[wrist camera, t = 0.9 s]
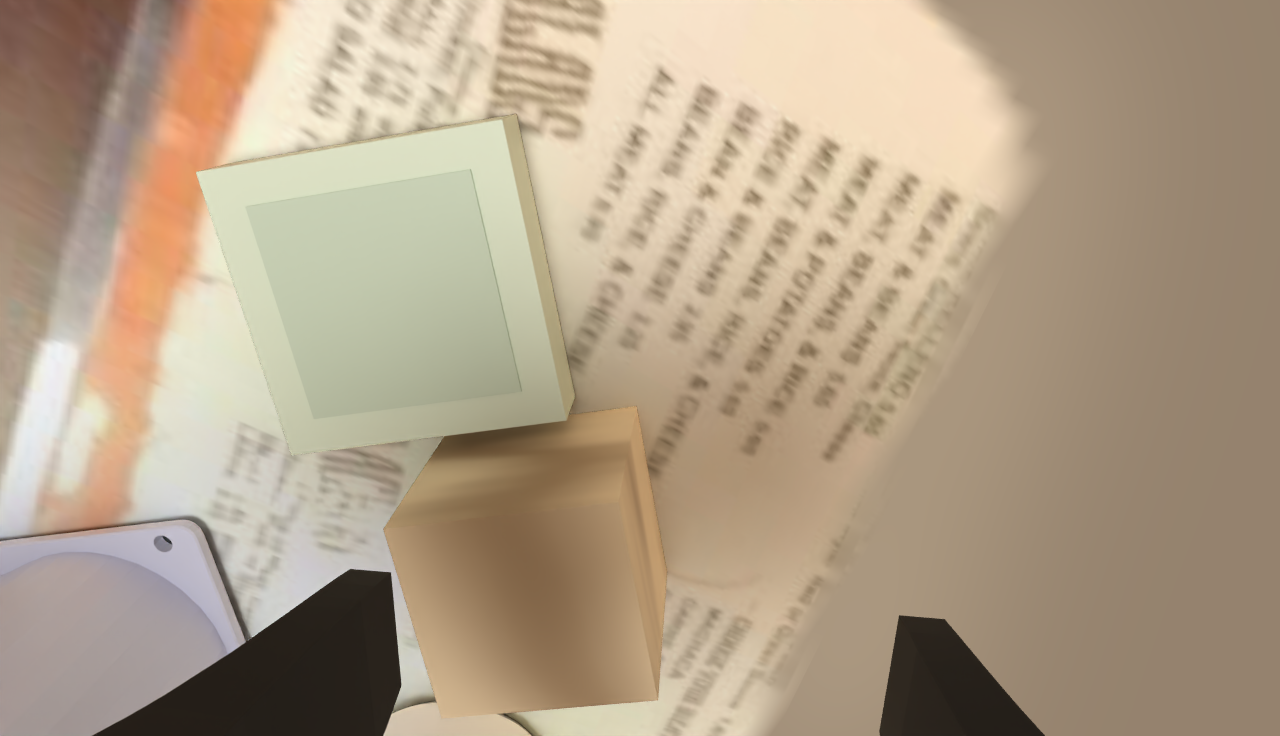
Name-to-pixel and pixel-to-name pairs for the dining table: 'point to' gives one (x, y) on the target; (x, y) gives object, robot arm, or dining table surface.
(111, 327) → the dining table surface
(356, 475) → the dining table surface
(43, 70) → the dining table surface
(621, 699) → the block
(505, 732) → the can
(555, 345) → the base
